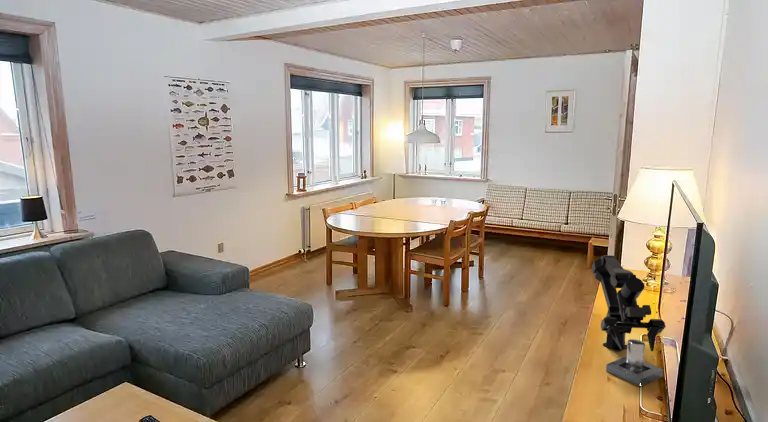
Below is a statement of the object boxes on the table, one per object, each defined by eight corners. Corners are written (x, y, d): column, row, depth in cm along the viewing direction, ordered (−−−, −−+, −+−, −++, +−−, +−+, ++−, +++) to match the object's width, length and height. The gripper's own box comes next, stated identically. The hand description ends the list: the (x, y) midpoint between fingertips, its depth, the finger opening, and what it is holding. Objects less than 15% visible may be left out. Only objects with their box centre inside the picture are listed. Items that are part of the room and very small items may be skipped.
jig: (628, 362, 168) (629, 355, 168) (662, 376, 158) (663, 369, 158) (606, 371, 163) (606, 364, 162) (639, 387, 152) (640, 379, 152)
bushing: (628, 368, 164) (630, 337, 162) (644, 373, 161) (646, 341, 159) (623, 374, 160) (625, 342, 159) (640, 379, 157) (642, 346, 155)
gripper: (604, 294, 162) (612, 339, 153) (665, 296, 158) (677, 342, 150) (597, 308, 170) (604, 351, 162) (654, 310, 167) (665, 354, 158)
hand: (637, 350), depth 158 cm, fingers open, 9 cm apart
